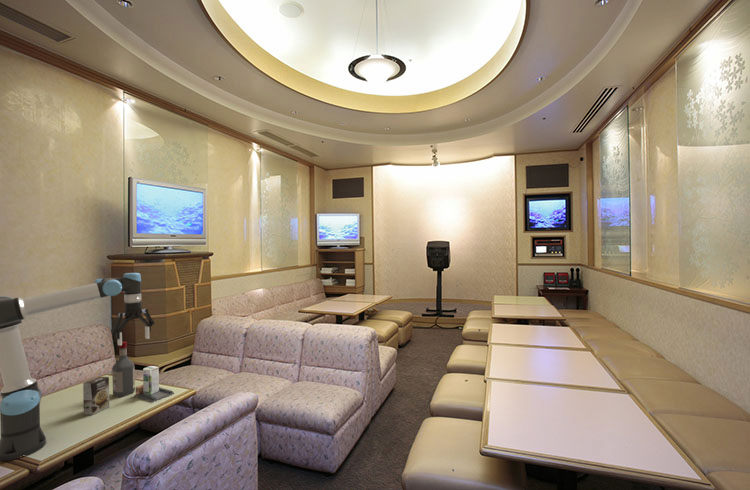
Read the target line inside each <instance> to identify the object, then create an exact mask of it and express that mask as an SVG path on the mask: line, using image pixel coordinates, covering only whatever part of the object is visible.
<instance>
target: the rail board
mask: <svg viewBox="0 0 750 490" xmlns="http://www.w3.org/2000/svg"><path fill="white" fill-rule="evenodd" d="M174 394H175V392H174V391H173V390H170V389H167V388H162V387H160V386H159V391H158V392H156V393H154V394H151V395H148V394H143V384H141V385H139V386H135V394H133V398H134V397H135V398H137V399H141V400H144V401H146V400H147V401H146V402H149V401H151V402H150V403H155V402H158V401H159V400H160V401H161V400H162V398H163V399H165V398H167V397H170V396H173V395H174ZM157 400H158V401H157ZM154 401H155V402H154Z"/></svg>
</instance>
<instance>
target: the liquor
mask: <svg viewBox="0 0 750 490" xmlns="http://www.w3.org/2000/svg"><path fill="white" fill-rule="evenodd" d="M127 343H128V342H127V340H126V341H122V345H121V346H120V345H118V348H119V358H118V360H117V361H116V362H115V363H114V364H113V365H112V368H111V372H112V376H111V377H112V395H113V396H114V397H117V398H121V397H126V396H130V395H132V394H133V393H135V392H136V379H135V378H136V377H135V376H136V375H135V369H136V368H135V363H134V362H133V361H132V360H130V358H128V353H127V350H128V349H127V347H128V344H127Z"/></svg>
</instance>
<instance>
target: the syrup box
mask: <svg viewBox="0 0 750 490" xmlns="http://www.w3.org/2000/svg"><path fill="white" fill-rule="evenodd" d="M159 370H160V368H159V366H156V365H155V366H153V365H151V366H150V365H149V366H147V367H144V368H143V369H142V376H143V377H142V380H143V381H142V382H143V383H142V385H143V394H148V395H151V394H154V393H156V392H158V391H159V387H160V381H159V380H160V375H159Z"/></svg>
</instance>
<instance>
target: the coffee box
mask: <svg viewBox="0 0 750 490" xmlns="http://www.w3.org/2000/svg"><path fill="white" fill-rule="evenodd" d="M82 385H83V386H82V388H83V389H82V393H83V396H82V397H83V400H82V402H83V414H84V415H91V416H93V415H95V414H97V413H100V412H101V411H104V410H106V409H109V408H110V377H109V376H98V377H95V378H93V379H91V380H87V381H83V383H82Z"/></svg>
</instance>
